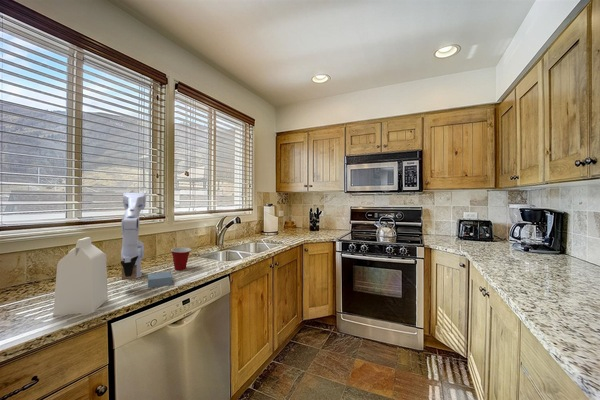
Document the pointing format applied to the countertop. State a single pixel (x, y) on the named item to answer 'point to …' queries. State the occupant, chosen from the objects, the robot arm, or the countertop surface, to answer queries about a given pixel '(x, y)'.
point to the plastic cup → (180, 257)
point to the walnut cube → (131, 275)
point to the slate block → (159, 279)
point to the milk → (81, 280)
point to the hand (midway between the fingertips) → (129, 274)
